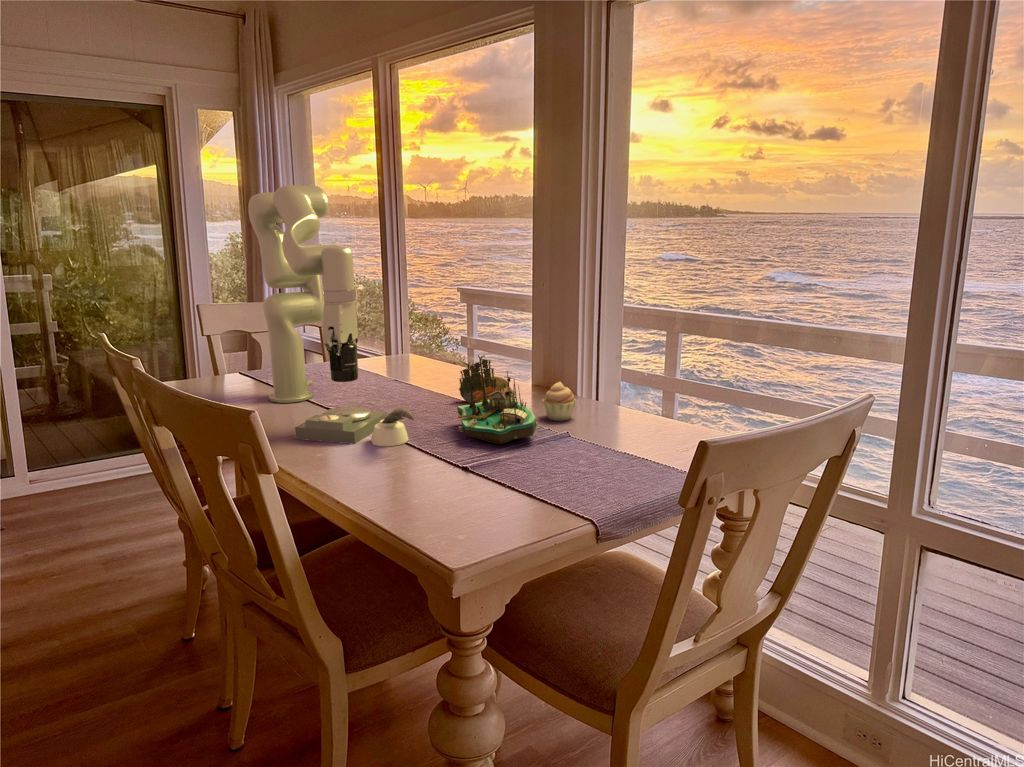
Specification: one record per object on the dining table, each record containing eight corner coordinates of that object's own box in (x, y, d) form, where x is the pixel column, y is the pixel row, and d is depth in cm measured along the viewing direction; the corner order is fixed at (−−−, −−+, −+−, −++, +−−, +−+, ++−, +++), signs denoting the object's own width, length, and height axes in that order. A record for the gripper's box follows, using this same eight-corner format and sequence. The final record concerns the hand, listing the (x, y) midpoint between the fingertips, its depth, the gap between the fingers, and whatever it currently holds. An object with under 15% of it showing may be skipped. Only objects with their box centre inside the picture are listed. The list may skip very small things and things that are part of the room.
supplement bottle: (352, 383, 179) (348, 335, 176) (326, 382, 180) (323, 334, 178) (363, 377, 185) (360, 331, 183) (338, 376, 187) (335, 330, 184)
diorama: (504, 414, 195) (497, 346, 190) (553, 439, 174) (546, 363, 168) (440, 431, 187) (431, 360, 182) (483, 460, 166) (474, 380, 160)
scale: (332, 419, 194) (331, 399, 193) (387, 423, 190) (386, 403, 189) (296, 438, 177) (294, 417, 176) (354, 443, 173) (353, 421, 172)
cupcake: (583, 417, 194) (584, 381, 191) (561, 424, 187) (562, 387, 185) (557, 411, 200) (557, 376, 198) (534, 418, 193) (534, 382, 191)
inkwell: (397, 433, 181) (395, 394, 179) (435, 450, 167) (433, 409, 165) (364, 440, 176) (361, 400, 174) (400, 458, 162) (398, 416, 160)
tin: (459, 402, 211) (459, 374, 209) (464, 400, 213) (463, 372, 212) (507, 407, 205) (507, 378, 203) (511, 404, 208) (511, 376, 206)
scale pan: (337, 408, 192) (337, 405, 192) (378, 411, 189) (378, 407, 189) (314, 420, 181) (313, 416, 181) (357, 424, 178) (357, 420, 178)
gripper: (343, 293, 187) (347, 360, 191) (307, 300, 171) (312, 374, 175) (369, 293, 185) (373, 361, 189) (335, 301, 169) (340, 375, 173)
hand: (344, 367), depth 182 cm, fingers closed on supplement bottle, 6 cm apart
